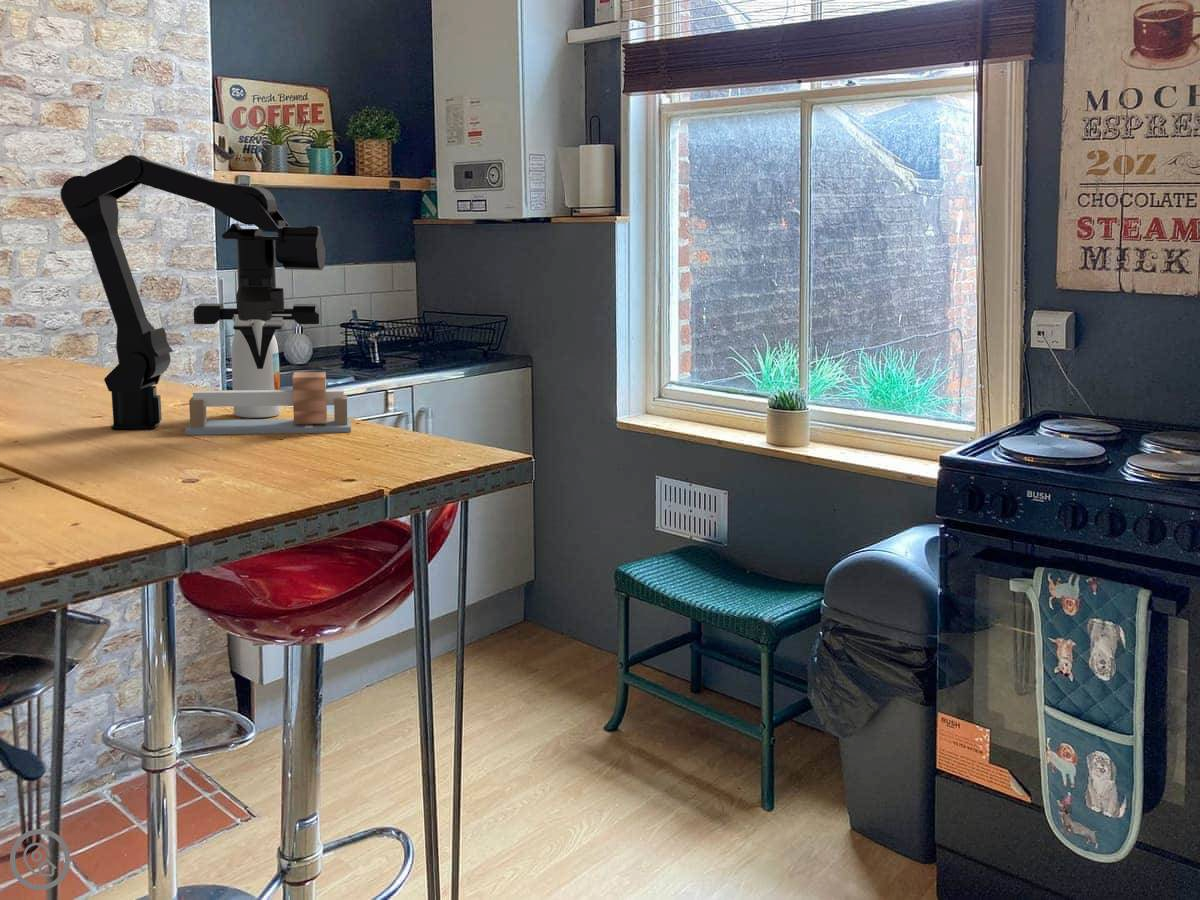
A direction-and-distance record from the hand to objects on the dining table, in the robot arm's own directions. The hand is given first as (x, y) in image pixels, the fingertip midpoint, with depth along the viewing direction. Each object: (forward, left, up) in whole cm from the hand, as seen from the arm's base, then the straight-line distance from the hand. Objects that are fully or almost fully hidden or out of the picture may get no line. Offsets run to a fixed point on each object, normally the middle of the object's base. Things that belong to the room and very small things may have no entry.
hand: (260, 368), depth 181 cm
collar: (+7, 0, -8) cm, 11 cm away
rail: (+1, 0, -10) cm, 10 cm away
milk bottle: (-2, +13, -10) cm, 16 cm away
